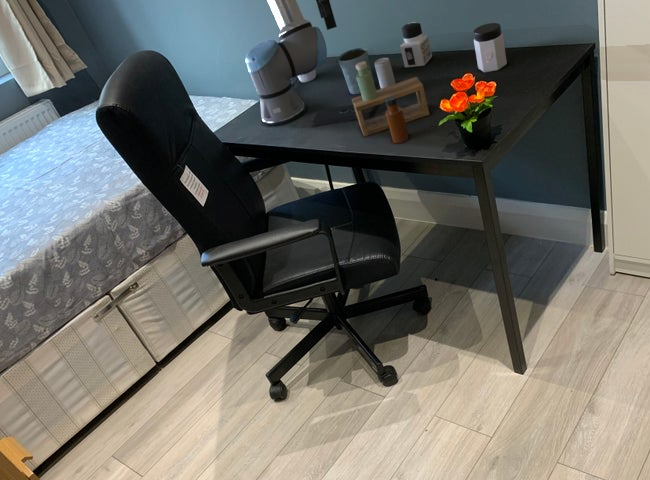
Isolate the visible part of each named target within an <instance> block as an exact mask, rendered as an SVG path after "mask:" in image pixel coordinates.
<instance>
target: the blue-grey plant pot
mask: <svg viewBox="0 0 650 480" xmlns="http://www.w3.org/2000/svg"><path fill="white" fill-rule="evenodd" d="M337 62H338V64H339V66H340V68H341V70H342V75H343V77H344V79H345V82H346V85H347V87H348V90H349V93H350V94H352V95H360V94H361V92H360V88H359V85H358V81H357V78H356V76H357V74H359V73H358V70H357V69H356V64H357V63H359V62H366V64H367V71H371V73H372V67H371V63H370V60H369V53H368V49H367V48H366V47H359V48H358V47H356V48H353V49H350V50H347V51H345V52H343V53H341V54H340V55H339V56H338V57H337ZM372 74H373V73H372Z"/></svg>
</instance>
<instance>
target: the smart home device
mask: <svg viewBox="0 0 650 480" xmlns="http://www.w3.org/2000/svg"><path fill="white" fill-rule="evenodd" d="M377 107H378V105H375V106H372V107H370V108H367V109H364V110H361V112H362V115H363V119H367V118H371V117H373V115H374V113H375V111H376V110H377ZM353 120H358V118H357V115H356V112H355V108H354V105H353V104H349V105H343V106H338V107H332V108H331V107H330V108H326V109H320V110H318V111H317V113H315V115H314V117H313V119H311V121H312V126H322V125H328V124H334V123H340V122H348V121H353Z"/></svg>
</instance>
